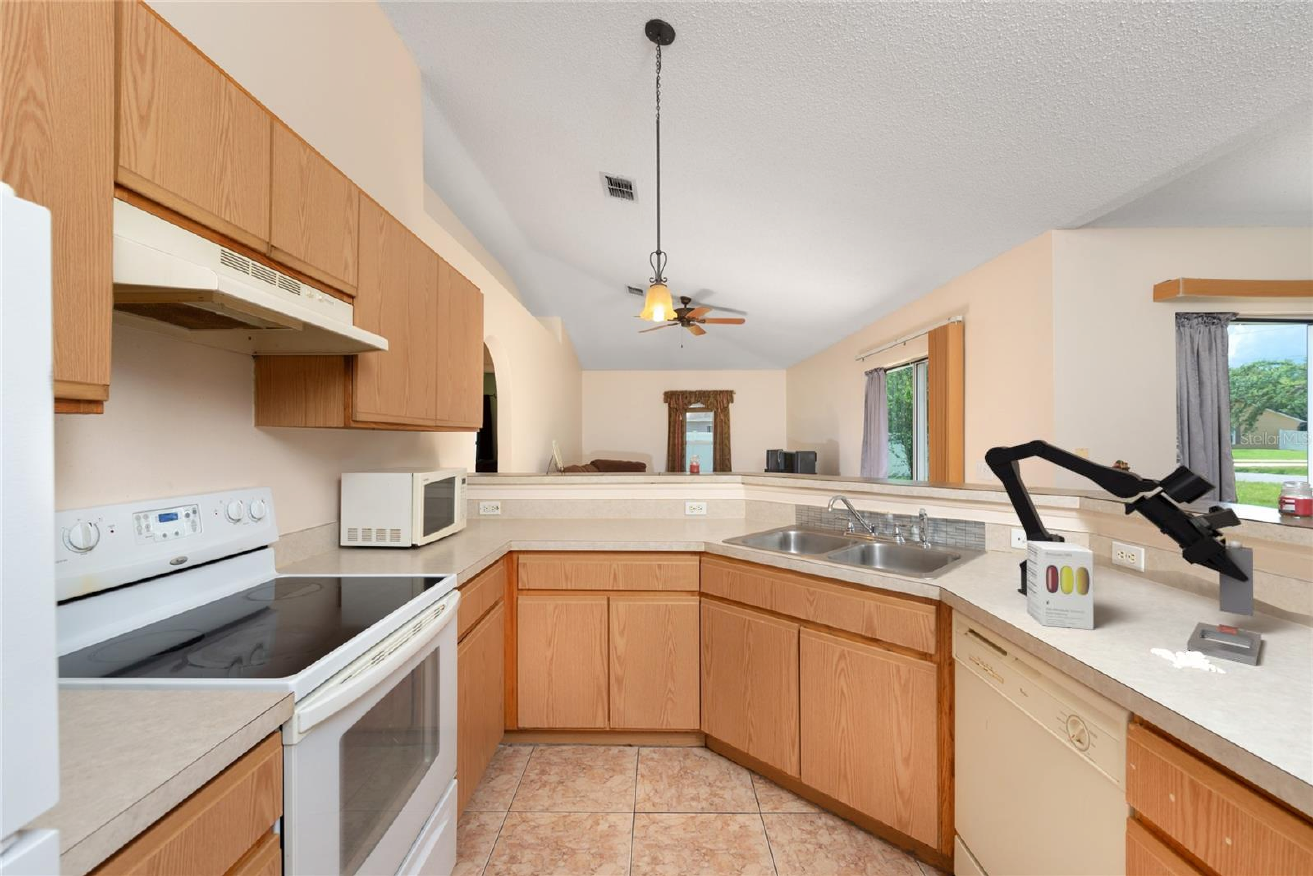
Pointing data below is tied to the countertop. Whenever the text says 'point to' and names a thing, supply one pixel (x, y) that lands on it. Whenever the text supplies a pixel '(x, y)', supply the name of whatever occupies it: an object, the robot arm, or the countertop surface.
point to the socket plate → (1225, 649)
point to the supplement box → (1060, 584)
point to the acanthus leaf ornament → (1188, 659)
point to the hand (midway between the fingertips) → (1246, 577)
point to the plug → (1237, 581)
